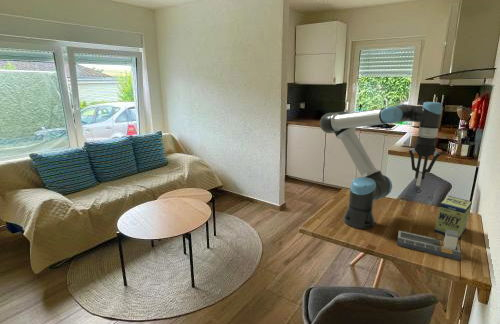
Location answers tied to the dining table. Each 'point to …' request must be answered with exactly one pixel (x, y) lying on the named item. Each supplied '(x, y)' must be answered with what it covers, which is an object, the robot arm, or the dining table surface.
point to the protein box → (453, 215)
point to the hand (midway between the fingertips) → (418, 185)
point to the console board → (427, 245)
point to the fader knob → (451, 239)
